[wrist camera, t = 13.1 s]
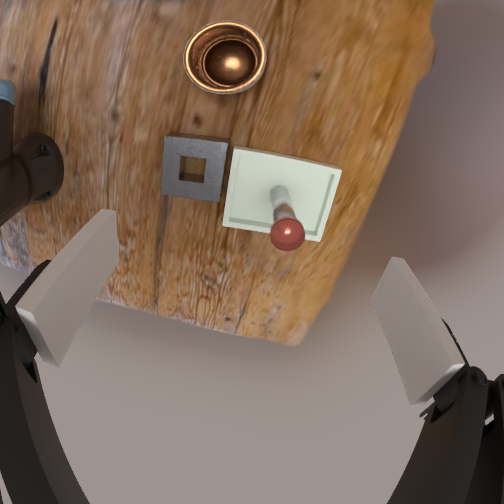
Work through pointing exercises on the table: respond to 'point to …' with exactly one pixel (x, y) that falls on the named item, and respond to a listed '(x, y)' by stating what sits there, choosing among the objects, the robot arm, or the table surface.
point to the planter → (225, 57)
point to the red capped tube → (285, 221)
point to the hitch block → (194, 184)
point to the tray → (270, 175)
